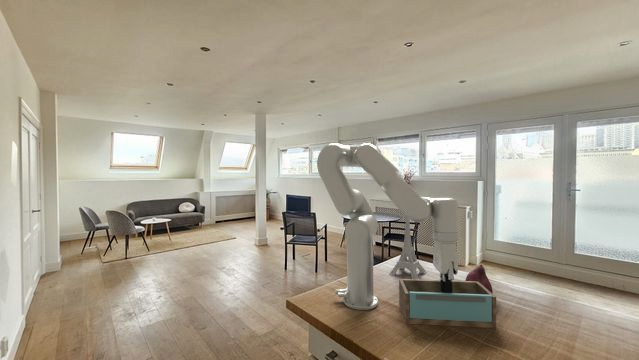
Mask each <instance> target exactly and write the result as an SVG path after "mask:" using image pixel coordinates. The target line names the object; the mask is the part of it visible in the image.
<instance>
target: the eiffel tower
mask: <svg viewBox="0 0 639 360" xmlns="http://www.w3.org/2000/svg"><path fill="white" fill-rule="evenodd" d="M404 219H405V229H404V239H403V240H404V241H403V247H401V249H402V251H401V253H400V256H399V259H398V260H397V261H396V264H395V265H394V267H393V269H392V270H391V271H390V272H389V273H388V276H393V277H394V276H396V275H397V272H398V270H405V269H407V271H409V272H410V274H411V279H419V280H420V278H419V276H418V271H419V274H422V273H423V274H422V275H426V274H427V273H428V272H427V271H426V269H425V268H424V267H423V266H422V265H421V263H420V259H417V257H416V254H415V251H414V247H413V244H412V235H411V224H410V221H411V220H410V219H409V218H408V217H407V216H406V215H405V214H404ZM399 268H400V269H399ZM417 269H418V271H417Z"/></svg>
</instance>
